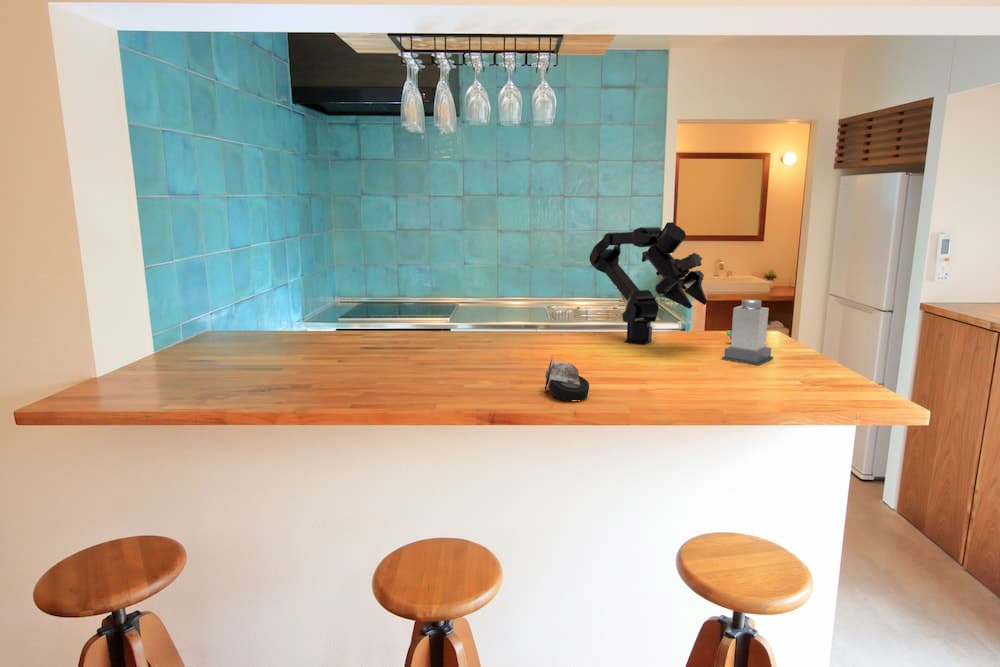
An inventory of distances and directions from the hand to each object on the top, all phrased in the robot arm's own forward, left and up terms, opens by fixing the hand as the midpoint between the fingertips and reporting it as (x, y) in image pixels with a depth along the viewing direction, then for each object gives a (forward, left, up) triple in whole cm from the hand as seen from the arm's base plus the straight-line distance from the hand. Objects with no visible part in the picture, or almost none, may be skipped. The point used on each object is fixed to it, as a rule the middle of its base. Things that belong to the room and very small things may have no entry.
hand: (698, 305), depth 177 cm
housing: (+14, +1, -11) cm, 17 cm away
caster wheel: (-12, -54, -14) cm, 57 cm away
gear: (+9, +20, -14) cm, 26 cm away
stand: (+14, +1, -14) cm, 19 cm away
